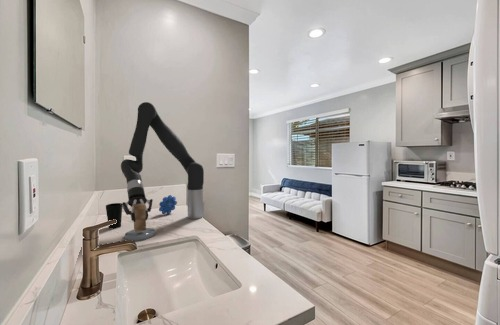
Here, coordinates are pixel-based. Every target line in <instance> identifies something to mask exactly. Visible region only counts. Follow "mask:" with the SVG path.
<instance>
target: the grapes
mask: <svg viewBox="0 0 500 325" xmlns="http://www.w3.org/2000/svg"><path fill="white" fill-rule="evenodd" d="M177 204H178V201H177V198H176V196H173V195H171V194H170V195H168V196H164V197H163V198H162V201H160V202H159V208H158V211H159V212H161V214H162V215H166V214H167V215H169V214H171V213H172V211H174V210H175V209H176V205H177Z"/></svg>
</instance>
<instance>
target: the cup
mask: <svg viewBox="0 0 500 325" xmlns="http://www.w3.org/2000/svg"><path fill="white" fill-rule="evenodd" d="M122 203H123V202H121V203H120V202H114V203H113V202H112V203H108V204H106V205H105V210H106V217H107V222H108V221H109V220H113V219H116V220H117V223H116V224H113V225H110V226H108V229H109V228H113V229H112V230H115V229H119V228H121V226H122V217H123V216H122V215H123V207H122Z"/></svg>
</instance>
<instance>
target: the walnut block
mask: <svg viewBox="0 0 500 325" xmlns="http://www.w3.org/2000/svg"><path fill="white" fill-rule="evenodd" d="M133 205H134V214H135V219H136V220H135V222H133V230H135V232H138V231H143V230H146V228H147V223H146V222H147V220H146V208H147V207H146V208H145V205H146V204H144V203H141V204H133Z"/></svg>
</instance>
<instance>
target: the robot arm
mask: <svg viewBox="0 0 500 325" xmlns="http://www.w3.org/2000/svg"><path fill="white" fill-rule="evenodd" d="M149 128H151V129H152V130H153V131H154V133H155V134H156V136H157V137H158V139H159V141H160V142H161V143H162V145H163V146H164V147H165V148H166V149H167V151H168V152H169V153H170V154H171V155H172V156H173V157H174V158H175V159H176V160H177V161H178V162H179V163H180V164H181V166H182V168H183V169H184V170H185V172H186V174H187V185H186V186H187V187H186V189H187V190H186V194H187V195H186V196H187V201H186V202H187V218H188V219H190V220H193V219H194V220H197V219H201V218H203V217H204V218H205V201H204V180H205V179H204V176H205V175H204V173H205V172H204V167H203V165H202V164H200V163H198V162H197V161H196V160H195V159H194V158H193V157H192V156H191V155H190V154H189V151H188V150H187V149H186V146H185V145H184V143H183V142H182V140H181V139H180V137H179V136H178V135H177V134H176V133H175V131H174V130H173V129H172V128H170V127H169V126H168V125H167V124H166V123H165V122H164V120H163V119H162V118H161V116H160V115H159V113H158V111H157V109H156V107H155V105H154V104H152V102H148V101H147V102H146V101H145V102H142V103H140V104H139V105H138V107H137V117H136V124H135V129H134V131H133V132H134V133H133V136H132V139H131V142H130V145H129V149H128V154H129V156H132V157H135V160H134V159H129V158H128V159H127V158H126V159H123V160H122V162H121V164H120V169H121V171H122V175H124V178H125V179H126V192H127V197H128V201H126V202H125V201H124V202H121V203H122V210H123V211H124V213H125V215H126V216H129V215H130V218H131V221H132V223H134V222H135V220H136V219H135V214H134V205H133V204H141V203H144V204H145V208H146V221H147V220H148V219H149V212H151V210H152V206H153V201H154V199H153V198H150V199H147V198H146V194H145V187H144V184H143V180H142V175H141V172H142V171H143V166H144V163H143V162H144V161H143V159H144V158H143V157H144V156H143V155H144V151H145V148H146V144H147V138H148V132H149ZM146 204H148V207H147V205H146ZM128 206H129V207H131V210H130V209H129V207H128Z"/></svg>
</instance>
